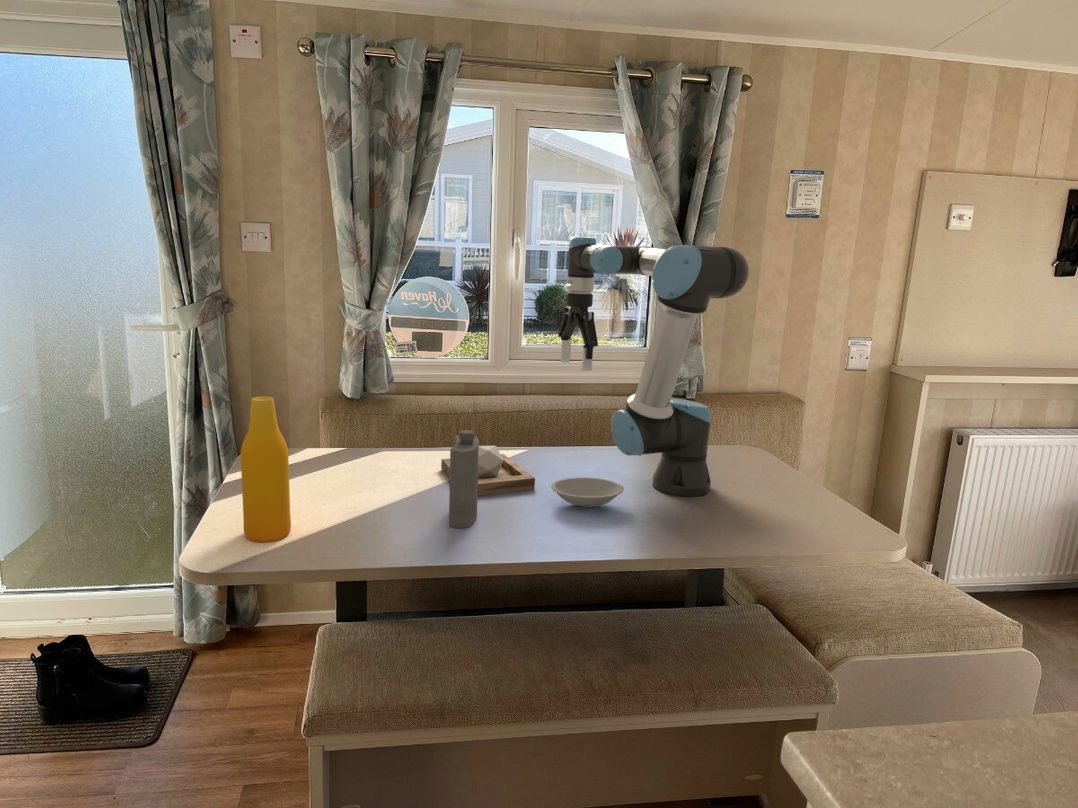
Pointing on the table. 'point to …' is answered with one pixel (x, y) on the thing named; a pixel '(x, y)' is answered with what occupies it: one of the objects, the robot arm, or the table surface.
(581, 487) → the dish
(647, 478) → the table surface
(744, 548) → the table surface
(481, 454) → the die
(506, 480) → the tray
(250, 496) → the beer bottle
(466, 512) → the flask
